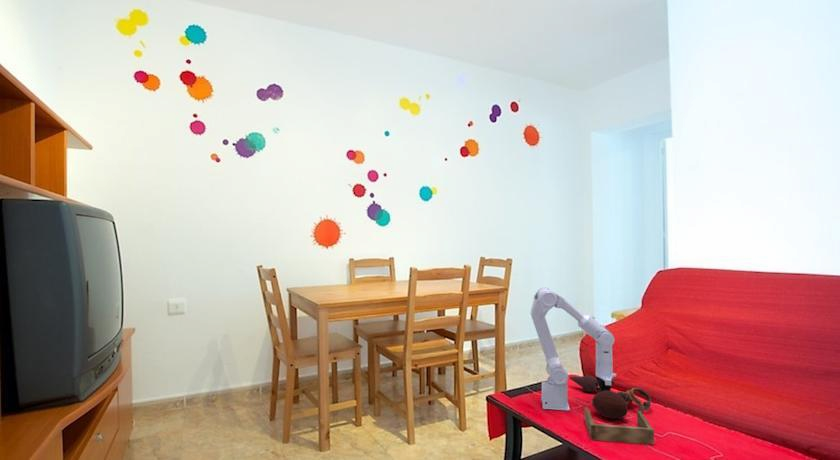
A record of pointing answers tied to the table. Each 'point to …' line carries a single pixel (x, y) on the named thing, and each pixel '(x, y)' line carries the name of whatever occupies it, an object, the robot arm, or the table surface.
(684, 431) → the table surface
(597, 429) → the box
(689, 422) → the table surface
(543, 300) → the robot arm
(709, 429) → the table surface
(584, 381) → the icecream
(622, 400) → the potato
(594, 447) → the table surface
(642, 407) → the brown looped piece
